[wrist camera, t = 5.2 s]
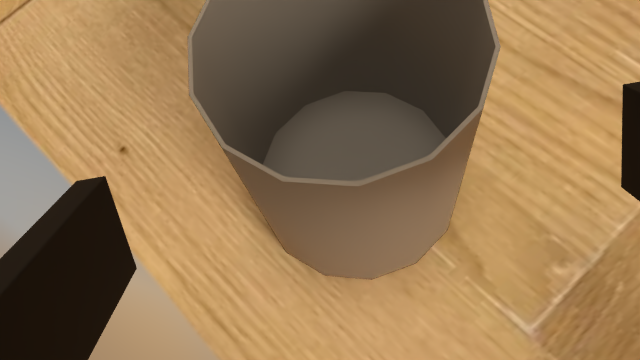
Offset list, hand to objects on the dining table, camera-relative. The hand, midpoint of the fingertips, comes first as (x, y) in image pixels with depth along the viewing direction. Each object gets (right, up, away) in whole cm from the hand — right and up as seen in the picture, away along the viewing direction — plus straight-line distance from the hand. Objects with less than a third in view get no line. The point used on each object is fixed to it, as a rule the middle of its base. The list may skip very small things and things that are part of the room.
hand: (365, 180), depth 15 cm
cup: (0, 0, +10) cm, 10 cm away
